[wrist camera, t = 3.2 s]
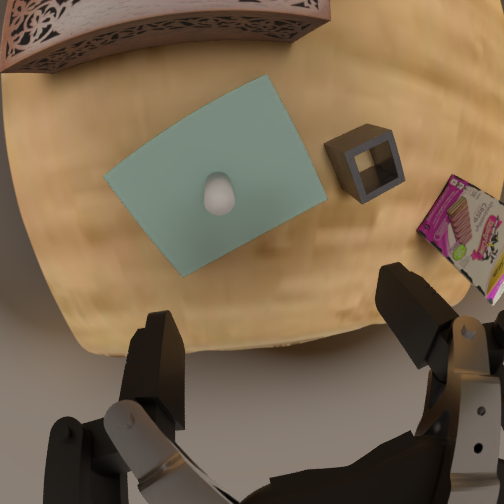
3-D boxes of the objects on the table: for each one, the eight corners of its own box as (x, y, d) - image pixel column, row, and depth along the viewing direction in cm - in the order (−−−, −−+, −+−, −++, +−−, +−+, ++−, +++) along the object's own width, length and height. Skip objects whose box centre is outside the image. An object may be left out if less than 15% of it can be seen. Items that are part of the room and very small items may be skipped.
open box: (366, 123, 27) (391, 130, 22) (381, 168, 30) (405, 180, 26) (323, 143, 28) (343, 152, 23) (342, 188, 31) (362, 204, 26)
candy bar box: (451, 171, 31) (534, 221, 17) (463, 188, 33) (537, 239, 19) (413, 230, 36) (486, 299, 22) (428, 243, 37) (493, 308, 23)
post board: (263, 75, 23) (279, 68, 17) (322, 194, 31) (347, 217, 25) (107, 172, 26) (84, 192, 20) (183, 270, 33) (180, 305, 28)
